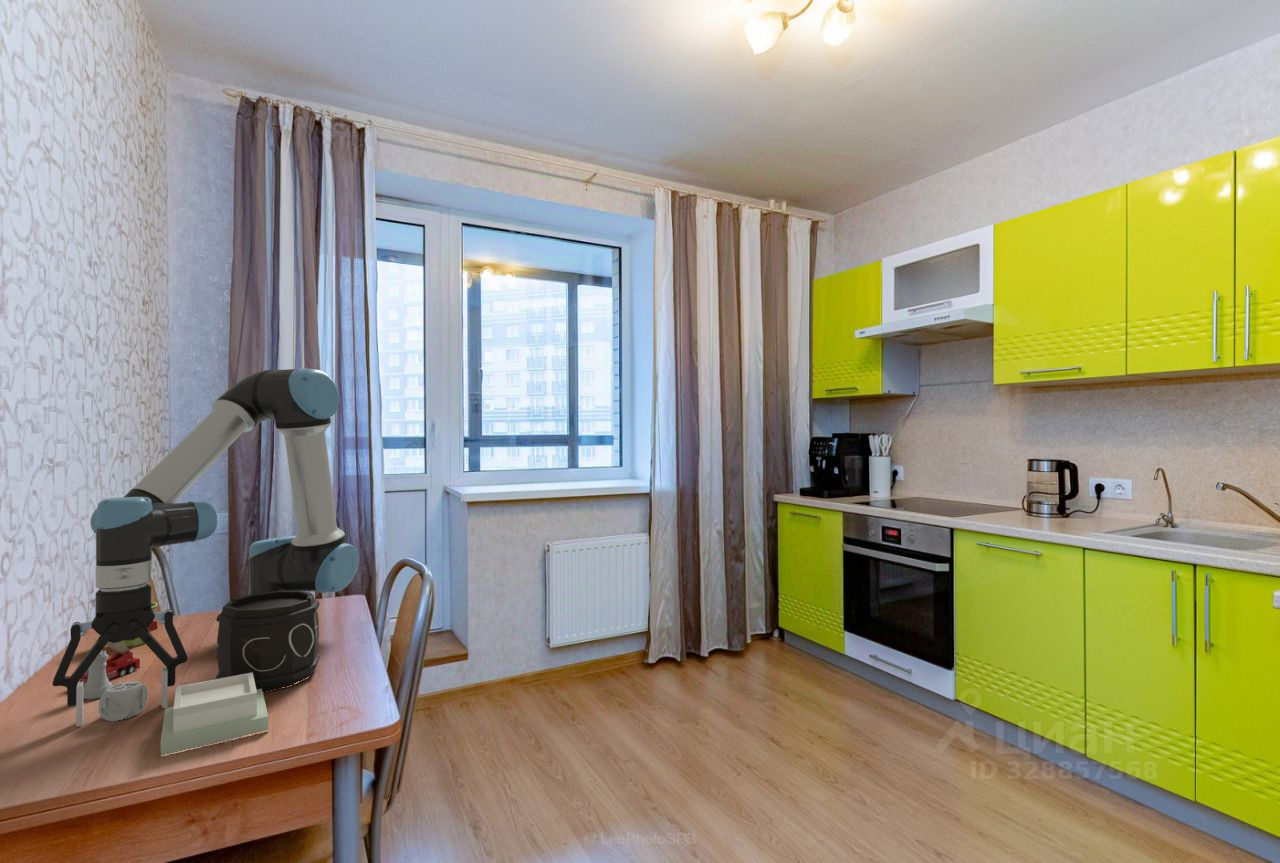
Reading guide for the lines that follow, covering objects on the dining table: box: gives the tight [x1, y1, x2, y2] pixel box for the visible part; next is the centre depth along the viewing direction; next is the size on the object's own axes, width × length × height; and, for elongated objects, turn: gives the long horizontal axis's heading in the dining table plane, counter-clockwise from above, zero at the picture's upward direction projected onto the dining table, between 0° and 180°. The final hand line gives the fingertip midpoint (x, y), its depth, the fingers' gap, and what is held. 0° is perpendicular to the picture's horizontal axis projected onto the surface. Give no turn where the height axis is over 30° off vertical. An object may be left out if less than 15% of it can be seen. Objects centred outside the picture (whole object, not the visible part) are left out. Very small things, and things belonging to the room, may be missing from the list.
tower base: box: [160, 672, 269, 756], centre depth 104 cm, size 14×14×7 cm
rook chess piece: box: [83, 649, 113, 701], centre depth 118 cm, size 4×4×8 cm
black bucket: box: [215, 591, 321, 693], centre depth 126 cm, size 18×18×16 cm
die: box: [98, 680, 149, 722], centre depth 109 cm, size 5×5×5 cm
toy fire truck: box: [79, 620, 158, 687], centre depth 128 cm, size 3×14×10 cm, turn 168°
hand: (123, 714), depth 109 cm, fingers open, 11 cm apart
